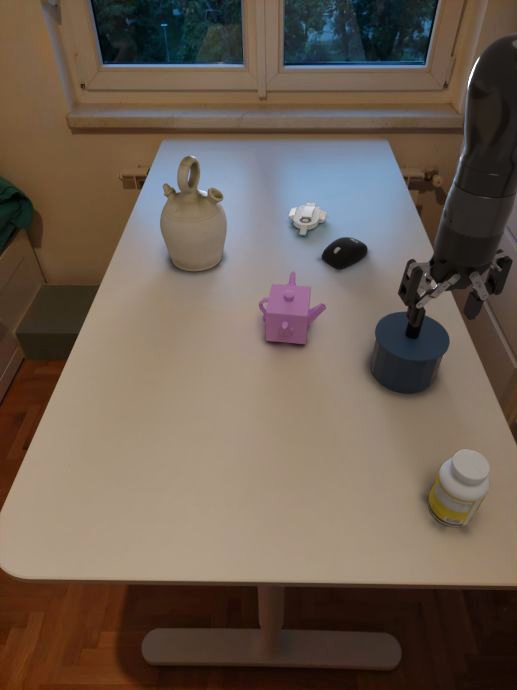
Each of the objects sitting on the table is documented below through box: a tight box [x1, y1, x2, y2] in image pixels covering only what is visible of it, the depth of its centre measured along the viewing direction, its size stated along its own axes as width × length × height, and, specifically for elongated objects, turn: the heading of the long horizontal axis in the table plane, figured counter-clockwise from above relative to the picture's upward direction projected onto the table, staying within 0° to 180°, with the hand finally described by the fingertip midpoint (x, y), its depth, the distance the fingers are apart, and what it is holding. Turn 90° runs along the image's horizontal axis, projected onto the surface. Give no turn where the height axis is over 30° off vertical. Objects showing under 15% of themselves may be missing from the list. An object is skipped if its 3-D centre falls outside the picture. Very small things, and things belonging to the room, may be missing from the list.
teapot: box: [258, 271, 327, 345], centre depth 99 cm, size 18×13×10 cm
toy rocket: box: [288, 201, 328, 237], centre depth 134 cm, size 16×10×2 cm, turn 166°
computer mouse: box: [321, 236, 369, 270], centre depth 121 cm, size 8×12×4 cm, turn 129°
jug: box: [159, 155, 228, 272], centre depth 114 cm, size 15×16×25 cm
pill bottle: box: [427, 448, 491, 528], centre depth 70 cm, size 6×6×12 cm
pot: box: [370, 339, 444, 395], centre depth 91 cm, size 12×12×8 cm
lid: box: [374, 308, 451, 362], centre depth 87 cm, size 13×13×7 cm
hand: (441, 319), depth 72 cm, fingers open, 8 cm apart
